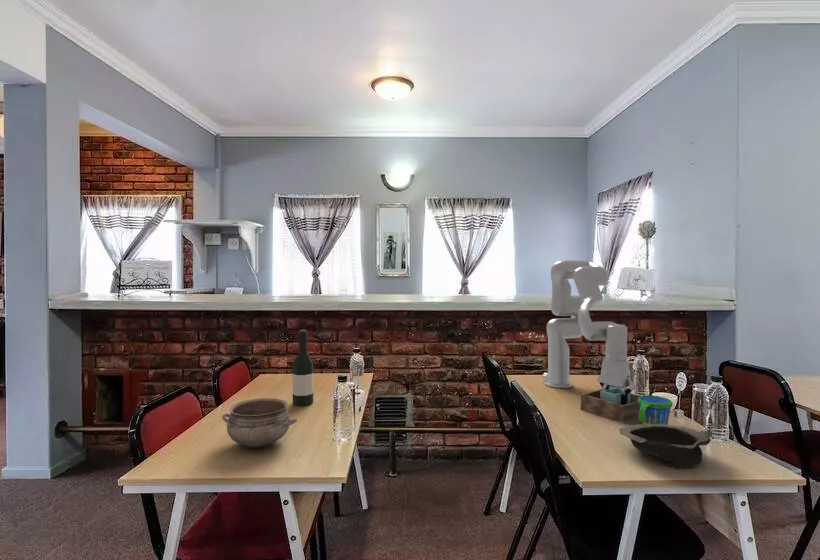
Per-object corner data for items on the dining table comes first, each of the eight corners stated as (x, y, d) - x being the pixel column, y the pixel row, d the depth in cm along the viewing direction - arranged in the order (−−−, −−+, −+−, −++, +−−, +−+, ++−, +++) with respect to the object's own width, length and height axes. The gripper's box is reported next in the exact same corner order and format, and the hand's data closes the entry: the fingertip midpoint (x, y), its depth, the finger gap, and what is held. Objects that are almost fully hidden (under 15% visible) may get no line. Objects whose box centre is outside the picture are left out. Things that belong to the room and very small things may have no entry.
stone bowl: (716, 482, 120) (714, 447, 120) (614, 467, 133) (612, 435, 133) (713, 449, 141) (711, 419, 141) (625, 438, 154) (623, 411, 154)
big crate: (580, 409, 181) (580, 394, 181) (607, 402, 191) (608, 387, 191) (623, 422, 166) (623, 406, 166) (650, 413, 176) (650, 398, 176)
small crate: (600, 405, 178) (600, 391, 178) (615, 400, 184) (615, 387, 183) (615, 409, 173) (615, 394, 173) (630, 405, 178) (630, 391, 178)
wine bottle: (288, 404, 185) (288, 330, 184) (300, 399, 193) (300, 328, 192) (305, 407, 182) (305, 332, 181) (317, 401, 190) (317, 329, 189)
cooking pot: (308, 436, 151) (308, 400, 151) (282, 460, 133) (281, 419, 132) (239, 431, 156) (239, 395, 156) (204, 453, 137) (204, 413, 137)
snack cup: (652, 436, 152) (653, 406, 152) (625, 426, 162) (626, 398, 162) (683, 429, 159) (683, 400, 159) (655, 420, 169) (656, 392, 168)
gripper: (590, 353, 183) (589, 398, 183) (632, 361, 168) (631, 409, 169) (601, 351, 187) (601, 395, 187) (643, 359, 173) (642, 406, 173)
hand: (615, 401), depth 178 cm, fingers closed on small crate, 6 cm apart
